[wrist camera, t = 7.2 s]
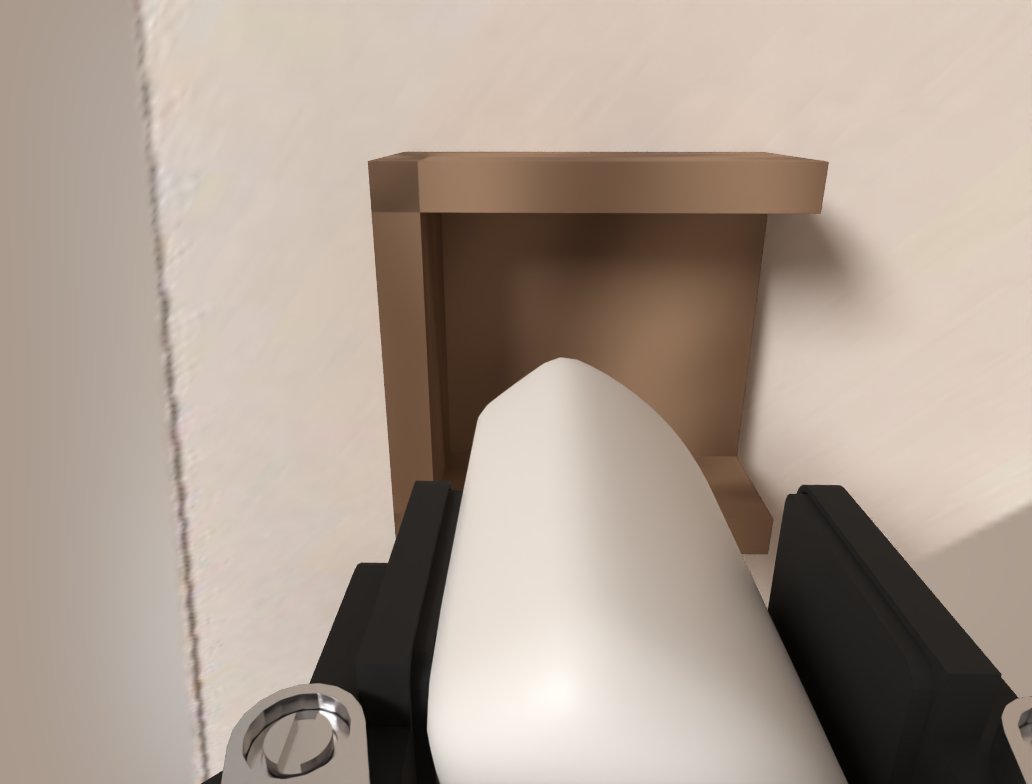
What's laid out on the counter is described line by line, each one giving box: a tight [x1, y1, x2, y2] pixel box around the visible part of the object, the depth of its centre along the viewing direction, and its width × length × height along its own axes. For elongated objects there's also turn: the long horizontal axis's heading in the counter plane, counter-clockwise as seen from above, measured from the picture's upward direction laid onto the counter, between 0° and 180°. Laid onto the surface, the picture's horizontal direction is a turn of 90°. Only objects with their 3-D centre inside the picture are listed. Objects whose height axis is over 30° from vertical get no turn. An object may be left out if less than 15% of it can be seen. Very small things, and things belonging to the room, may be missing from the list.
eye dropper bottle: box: [427, 357, 848, 784], centre depth 8 cm, size 4×6×12 cm
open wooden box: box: [368, 152, 829, 554], centre depth 21 cm, size 11×11×5 cm
